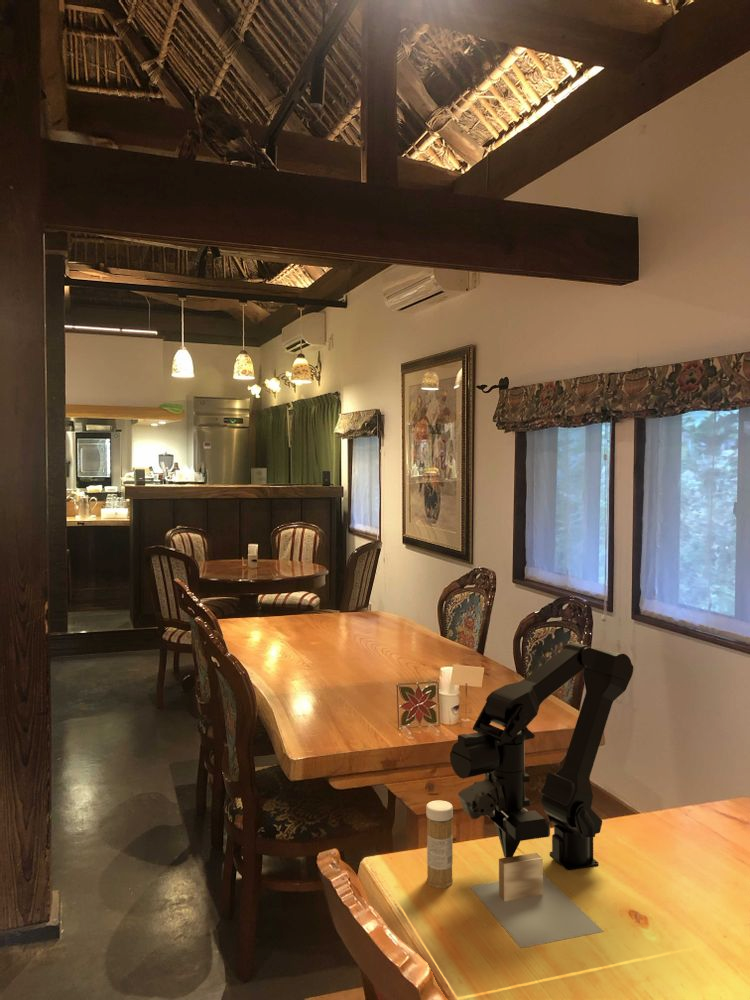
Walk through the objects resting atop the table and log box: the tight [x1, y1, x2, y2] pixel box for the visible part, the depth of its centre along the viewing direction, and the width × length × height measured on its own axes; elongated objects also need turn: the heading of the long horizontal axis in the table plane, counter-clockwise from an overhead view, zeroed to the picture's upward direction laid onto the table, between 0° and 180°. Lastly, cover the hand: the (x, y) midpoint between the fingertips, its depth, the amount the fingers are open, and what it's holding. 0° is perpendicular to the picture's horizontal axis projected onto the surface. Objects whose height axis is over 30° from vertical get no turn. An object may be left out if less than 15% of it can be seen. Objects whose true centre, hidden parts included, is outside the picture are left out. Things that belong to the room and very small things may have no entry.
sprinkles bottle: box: [425, 799, 454, 889], centre depth 125 cm, size 5×5×14 cm
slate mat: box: [469, 873, 605, 949], centre depth 117 cm, size 14×18×1 cm
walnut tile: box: [498, 852, 544, 901], centre depth 121 cm, size 7×2×6 cm, turn 107°
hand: (508, 857), depth 125 cm, fingers closed
